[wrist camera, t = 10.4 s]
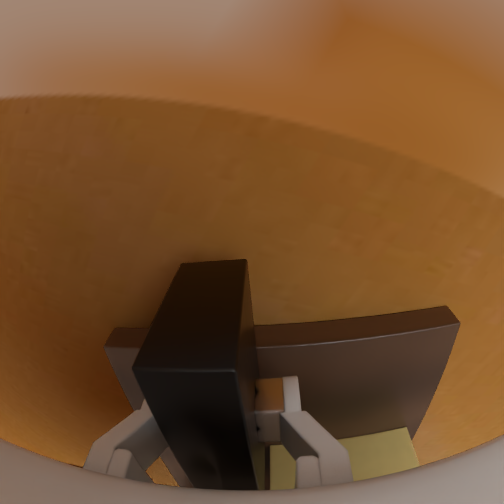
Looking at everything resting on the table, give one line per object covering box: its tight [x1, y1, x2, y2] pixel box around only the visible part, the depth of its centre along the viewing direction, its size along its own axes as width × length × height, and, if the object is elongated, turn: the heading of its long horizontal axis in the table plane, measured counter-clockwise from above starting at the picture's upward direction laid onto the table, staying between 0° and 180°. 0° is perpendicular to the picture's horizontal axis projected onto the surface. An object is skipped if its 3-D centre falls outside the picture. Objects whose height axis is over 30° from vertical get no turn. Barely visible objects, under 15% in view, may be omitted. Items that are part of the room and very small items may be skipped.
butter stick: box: [270, 427, 420, 490], centre depth 14 cm, size 5×8×4 cm, turn 95°
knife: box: [132, 259, 265, 490], centre depth 12 cm, size 19×2×5 cm, turn 5°
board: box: [104, 306, 460, 490], centre depth 16 cm, size 18×16×2 cm
